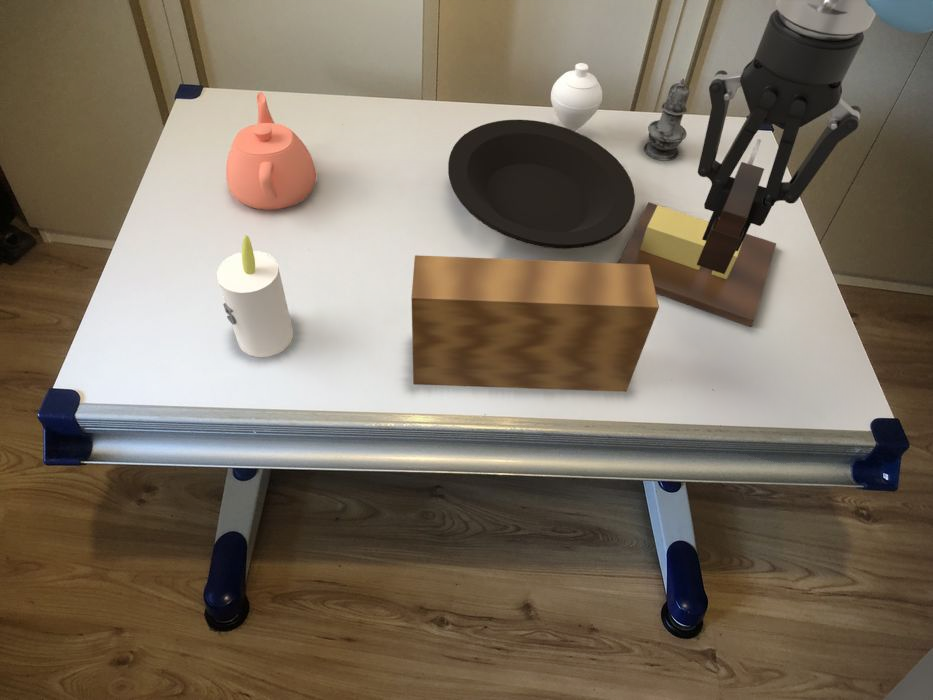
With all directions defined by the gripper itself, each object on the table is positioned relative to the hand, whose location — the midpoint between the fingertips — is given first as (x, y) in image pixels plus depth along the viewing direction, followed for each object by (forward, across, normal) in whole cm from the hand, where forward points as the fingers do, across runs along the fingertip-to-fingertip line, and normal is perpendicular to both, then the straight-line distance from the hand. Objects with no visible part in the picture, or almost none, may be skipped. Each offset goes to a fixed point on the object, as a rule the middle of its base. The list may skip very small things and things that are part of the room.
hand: (722, 237), depth 74 cm
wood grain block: (+14, -15, -16) cm, 26 cm away
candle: (+14, -44, -26) cm, 53 cm away
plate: (+14, -24, +11) cm, 30 cm away
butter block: (+12, -5, +11) cm, 17 cm away
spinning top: (+14, -26, +30) cm, 42 cm away
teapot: (+14, -60, -2) cm, 61 cm away
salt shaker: (+14, -12, +34) cm, 39 cm away
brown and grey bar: (+1, 0, +6) cm, 7 cm away
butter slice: (+12, +2, +11) cm, 17 cm away
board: (+14, -2, +11) cm, 17 cm away
